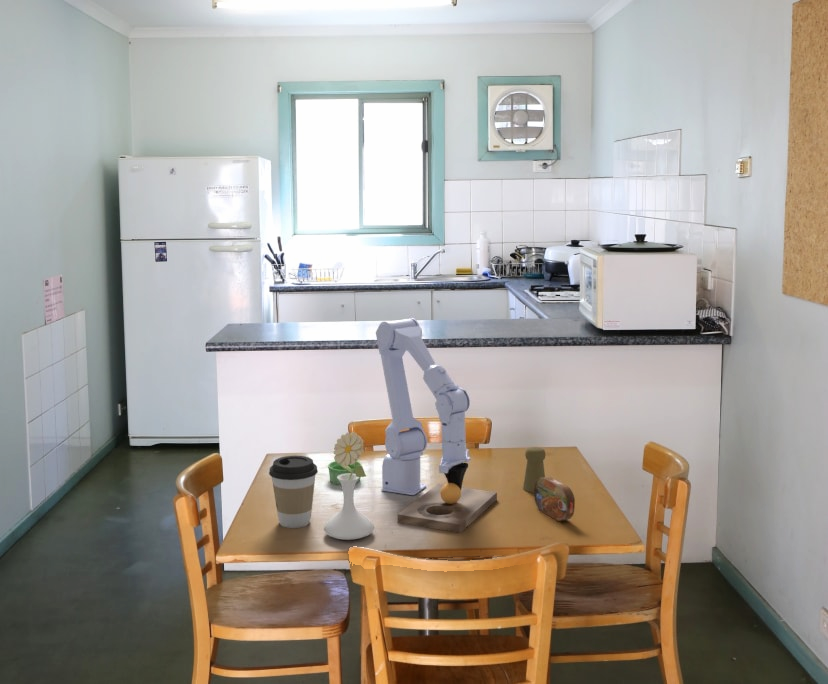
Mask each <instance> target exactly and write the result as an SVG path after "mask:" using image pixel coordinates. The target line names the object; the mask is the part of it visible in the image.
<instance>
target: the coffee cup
mask: <svg viewBox="0 0 828 684" xmlns="http://www.w3.org/2000/svg"><path fill="white" fill-rule="evenodd" d="M318 472H319V471H318V466H317V464H315V463H314V459H312V458H311V457H309V456H306V455H305V456H304V455H287V456H286V455H285V456H282V457H278V458H277V459H275V460H274V461H273V463H272V465H271V466H270V467H269V472H268V475H269V476H270V477H271V482H272V488H273V494H274V499H275V506H276V513H277V517H278V521H279V525H280V526H281V527H283V528H286V529H287V528H288V529H299V528H304V527H307V526H308V525H309V524H310V523H311V519H312V511H313V503H314V502H313V501H314V492H315V483H316V482H315V481H316V475H317V474H318Z"/></svg>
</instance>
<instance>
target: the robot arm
mask: <svg viewBox="0 0 828 684" xmlns="http://www.w3.org/2000/svg"><path fill="white" fill-rule="evenodd" d="M375 335H376V336H375V337H376V341H377V347H378V352H379V355H380V358H381V359H380V360H381V364H382V369H383V374H384V379H385V381H384V382H385V387H386V393H387V397H388V403H389V409H390V414H391V422H390V423H389V424H388V426H386V429H385V430H384V431H385V440H384V446H385V450H386V453H387V454H385V456H384V458H383V461H382V465H381V468H382V469H381V473H382V479H381V480H382V487H381V488H380V490H381V491H383V492H387V493H388V492H389V493H396V494H402V495H409V496H415V495H417V494H418V493H420V492H421V491H422V490H423V489H425V488H426V487H427V484H426V483H421V456H423V455H424V451H425V450H426V449H427V446H428V437H427V434H426V432H425V430H424V428H423V423H422V422H421V421H420V420H418V419H417V418H415V417H414V416H413V415H414V414H413V410H412V409H413V408H412V404H411V398H410V394H409V393H410V392H409V388H408V383H407V381H408V380H407V377H406V371H405V365H404V359H403V357H404V355H405V354H406V352H408V353H409V354H410V356H411V357H412V358H413V361H415V362H416V363H417V365H418V367H420V369H421V370H422V371H423V377H422V379H423V381H424V383H425V384H426V385H427V387H428V389H429V390H430V392H431V393H432V395H433V396H434V399H435V400H436V401H434V402H435V404H434V405H435V409H436V412H437V414H438V419H439V422H440V423H441V424H440V425H441V427H440V428H441V451H442V452H441V455H442V456H441V458H440V459H441V460H440V464H439V465H438V473H439V474H444V477H445V478H446V481H447V483H454V484H456V485H457V486H458V487H459V488H460V490H461V488H462V487H463V483H464V478H465V474H466V471H467V469H468V468H469V462H470V461H471V456H470V450H469V449H467V447H466V445H467V444H466V440H467V439H466V412H467V411H468V410H469V409H470V403H471V401H470V397H469V394H468V393H467V391H466V389H464V388H462V387H460V385H458V384H455V381H453V380H452V378H451V376H450V375H449V373H448V372H447V370H446V369H445V367H444V366H443V365H440V364H439V365H438V364H437V363H436V362H435V360H434V359H433V356H432V354H431V353H430V351H429V350H428V347H427V345H426V344H425V341H424V340H423V338H422V337H423V329H422V328H421V326H420V324H419V322H418V321H417V319H416V318H414V317H408V318H404V319H398V320H391V321H390V320H389V321H386V320H385V321H381V322H380V323H379V325H378V327H377V329H376V331H375Z"/></svg>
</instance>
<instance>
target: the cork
mask: <svg viewBox="0 0 828 684" xmlns="http://www.w3.org/2000/svg"><path fill="white" fill-rule="evenodd" d="M524 454H525V455H524V456H525V459H526V465H525V466H526V467H525V472H524V479H523V487H522V489H523V491H525V492H527V493H533V494H534V486H535V483H536V481H537V479H538V478H540V477H543V478H544V477H546V473H545V466H544V465H545V464H544V460H545V459H546V451H545V449H544V448H543V447H540V446H530V447H527V448H526V450H525V453H524Z"/></svg>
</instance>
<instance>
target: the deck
mask: <svg viewBox="0 0 828 684" xmlns="http://www.w3.org/2000/svg"><path fill="white" fill-rule="evenodd" d="M444 485H445V484H443V483H441V484H440V483H437V484H436V485H434V486H433V487H432V488H431V489H429V490H428V491H426V492H425V493H424V494H422V495H421V496H420V497H418V498H417V499H416V500H414V501H413V502H412V503H410V504H409V505H408V506H407V507H405V508H404V509H403V510H401V511H400V512H399V513H397V523H400V524H406V525H410V524H412V525H411V526H416V525H418V526H419V527H423V526H425V527H424V528H430V529H435V530H441V531H447V530H448V532H454V533H460V532H461V533H462V532H464V530H465V529H467V528H468V527H469V526H470V525H471V524H472V523H473V522H474V521H475V520H476V519H477V518H479V517H480V516H481V515H482V514H483V513H484V512H485V511H487V509H489V508H490V507H491V506H492V505H493V504H494V503H495V502H497V499H498V493H497V491H490V490H482V489H477V488H476V489H475V488H470V487H463V486H462V488H461V497H460V499H459V500H458V501H457V502H456V503H453V504H448V503H446V502H444V501H443V500H442V498H441V495H440V492H441V489H442V487H443V486H444ZM490 505H491V506H490ZM488 507H489V508H488ZM436 513H437V514H439V515H436ZM440 514H441V515H440ZM418 526H417V527H418ZM467 526H468V527H467ZM466 527H467V528H466ZM461 533H460V534H461Z"/></svg>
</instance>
